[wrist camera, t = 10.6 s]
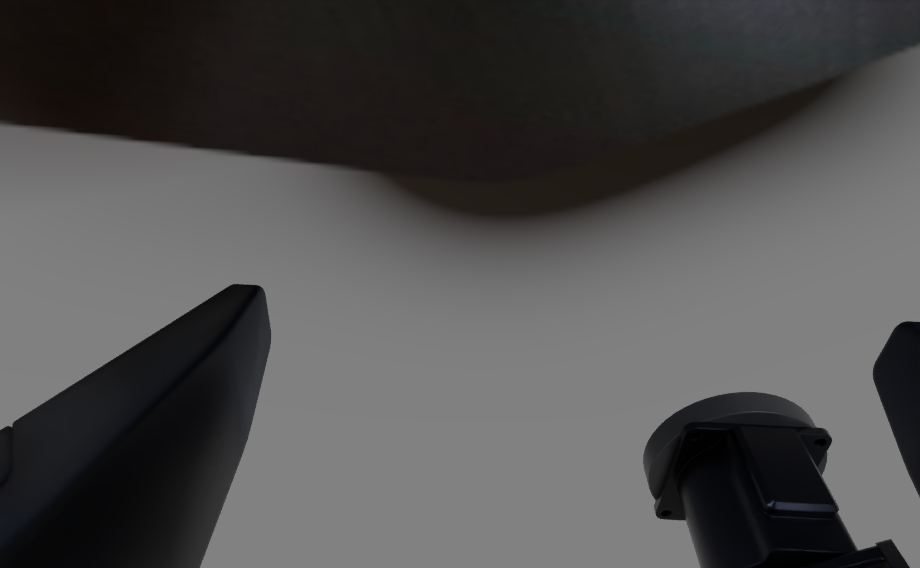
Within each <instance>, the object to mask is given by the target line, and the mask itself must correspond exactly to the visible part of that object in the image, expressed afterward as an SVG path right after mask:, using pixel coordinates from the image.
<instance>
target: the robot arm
mask: <svg viewBox="0 0 920 568" xmlns="http://www.w3.org/2000/svg"><path fill="white" fill-rule="evenodd" d="M270 344H271V329H270V323H269V315H268V309H267V303H266V296H265V292H264V290H263V288H262V287H260V286H258V285H243V284H233V285H231V286H229V287H227V288H225V289H224V290H222V291H221V292H219V293H217V294H216V295H214V296H213V297H211V298H210V299H208V300H206V301H205V302H203V303H202V304H200V305H198V306H197V307H195V308H194V309H192V310H190V311H189V312H187V313H186V314H184V315H183V316H181V317H180V318H178V319H176V320H175V321H173V322H172V323H170V324H168V325H167V326H165V327H164V328H162V329H160V330H159V331H157V332H156V333H154V334H152V335H151V336H149V337H148V338H146V339H145V340H143V341H141V342H140V343H138V344H137V345H135V346H133V347H132V348H130V349H129V350H127V351H125V352H124V353H123V354H121V355H119V356H118V357H116V358H114V359H113V360H111V361H110V362H108V363H106V364H105V365H103V366H102V367H100V368H98V369H97V370H95V371H94V372H92V373H91V374H89V375H87V376H86V377H84V378H83V379H81V380H79V381H78V382H76V383H75V384H73V385H72V386H70V387H68V388H67V389H66V390H64V391H62V392H60V393H59V394H57V395H56V396H54V397H53V398H51V399H49V400H48V401H46V402H45V403H43V404H41V405H40V406H39V407H37V408H35V409H33V410H32V411H30V412H29V413H27V414H26V415H24V416H22V417H21V418H19V419H18V420H16V421H15V422H14V423H13V426H12V427H10V426H7V427H5V428H3V429H1V430H0V568H200V566H201V563H202V560H203V558H204V555H205V552H206V550H207V547H208V544H209V541H210V539H211V536H212V533H213V531H214V528H215V526H216V523H217V520H218V518H219V515H220V513H221V510H222V507H223V504H224V502H225V499H226V496H227V494H228V491H229V489H230V486H231V483H232V481H233V478H234V475H235V473H236V470H237V467H238V465H239V462H240V459H241V457H242V454H243V451H244V448H245V445H246V442H247V439H248V435H249V431H250V428H251V424H252V420H253V416H254V412H255V408H256V403H257V399H258V395H259V391H260V387H261V383H262V379H263V374H264V371H265V366H266V362H267V358H268V354H269V350H270ZM873 380H874V383H875V386H876V388H877V391H878V394H879V396H880V399H881V402H882V405H883V407H884V410H885V412H886V415H887V418H888V421H889V423H890V426H891V429H892V431H893V434H894V437H895V439H896V442H897V444H898V447H899V450H900V452H901V455H902V458H903V461H904V463H905V466H906V468H907V470H908V473H909V475H910V478H911V480H912V482H913V484H914V486H915V488H916V490H917V492H918V494H919V496H920V322H903V323H901V324H899V325H898V326H897V327H896V328H895V329H894V330H893V332H892V334H891V336H890V337H889V339H888V341H887V343H886V344H885V346H884V348H883V350H882V352H881V353H880V355H879V357H878V359H877V360H876V362H875V364H874V368H873ZM694 432H696V433H694ZM831 442H832V438H831V437H830V435H829V433H828V431H827V430H825V429H823V428H813V427H794V426H775V425H756V424H736V423H717V422H698V421H695V422H690V423H687V424H686V425H685V426H684V427H683V428H682V431H681V434H680V436H679V439H678V442H677V445H676V447H675V450H674V453H673V456H672V458H671V461H670V464H669V466H668V469H667V472H666V475H665V477H664V480H663V483H662V486H661V488H660V491H659V494H658V497H657V499H656V502H655V505H654V509H655V513H656V516H657V517H658V518H660V519H668V520H669V519H670V520H686V522H687V525H688V528H689V531H690V534H691V538H692V541H693V544H694V547H695V550H696V554H697V557H698V560H699V563H700V567H701V568H910V567H909V566H908V564H907V563H906V561H905V560H904V558H903V557H902V555H901V554H900V552H899V551H898V549H897V548H896V546H895V545H894V543H893V542H892V540H891V539H889V540H885V541H882V542H878V543H876V546H874V547H870V548H866V549H863V550H858V549H857V547H856V546H855V544H854V542H853V540H852V538H851V537H850V534H849V533H848V531H847V529H846V527H845V525H844V523H843V521H842V520H841V518H840V516H839V514H838V510H839V508H838V505H837V503H836V501H835V500H834V498H833V496H832V494H831V492H830V490H829V489H828V487H827V485H826V483H825V481H824V479H823V478H822V476H821V474H820V472H819V470H818V468H817V467H818V466H819V464H820V462H821V460H822V459H823V457H824V455H825V453H826V452H827V450H828V448H829V446H830V445H831Z"/></svg>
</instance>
